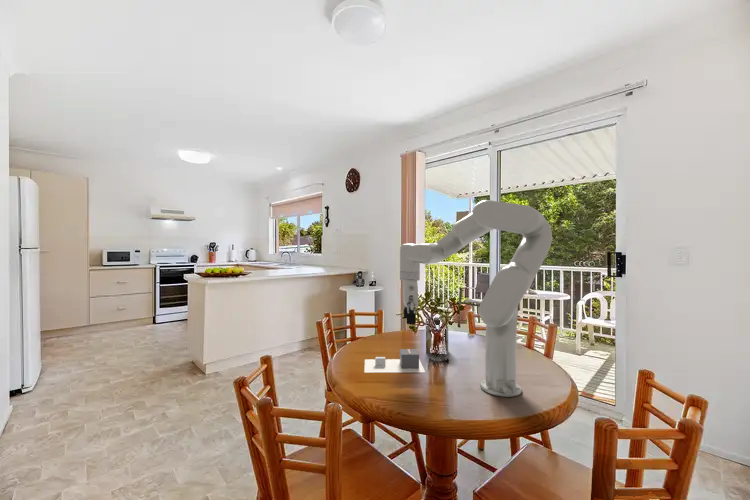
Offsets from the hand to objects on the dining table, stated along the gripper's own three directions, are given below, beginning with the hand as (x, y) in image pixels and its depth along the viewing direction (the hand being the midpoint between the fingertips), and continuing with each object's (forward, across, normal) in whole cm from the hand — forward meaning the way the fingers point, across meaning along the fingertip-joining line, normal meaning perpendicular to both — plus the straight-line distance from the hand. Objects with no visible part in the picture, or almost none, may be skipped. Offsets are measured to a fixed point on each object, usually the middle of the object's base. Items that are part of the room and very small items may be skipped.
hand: (409, 320), depth 128 cm
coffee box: (+19, +16, -14) cm, 28 cm away
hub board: (+18, 0, +6) cm, 19 cm away
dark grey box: (+17, 0, 0) cm, 17 cm away
